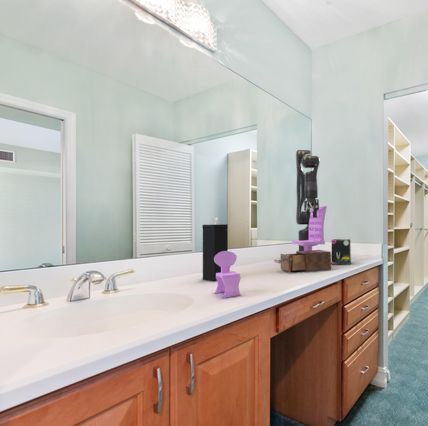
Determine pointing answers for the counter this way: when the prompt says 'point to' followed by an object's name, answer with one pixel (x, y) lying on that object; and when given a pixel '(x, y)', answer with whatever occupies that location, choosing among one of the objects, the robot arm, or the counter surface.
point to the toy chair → (227, 274)
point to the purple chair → (314, 230)
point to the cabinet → (316, 260)
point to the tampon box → (341, 251)
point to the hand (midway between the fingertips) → (311, 218)
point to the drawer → (297, 262)
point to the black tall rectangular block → (213, 248)
